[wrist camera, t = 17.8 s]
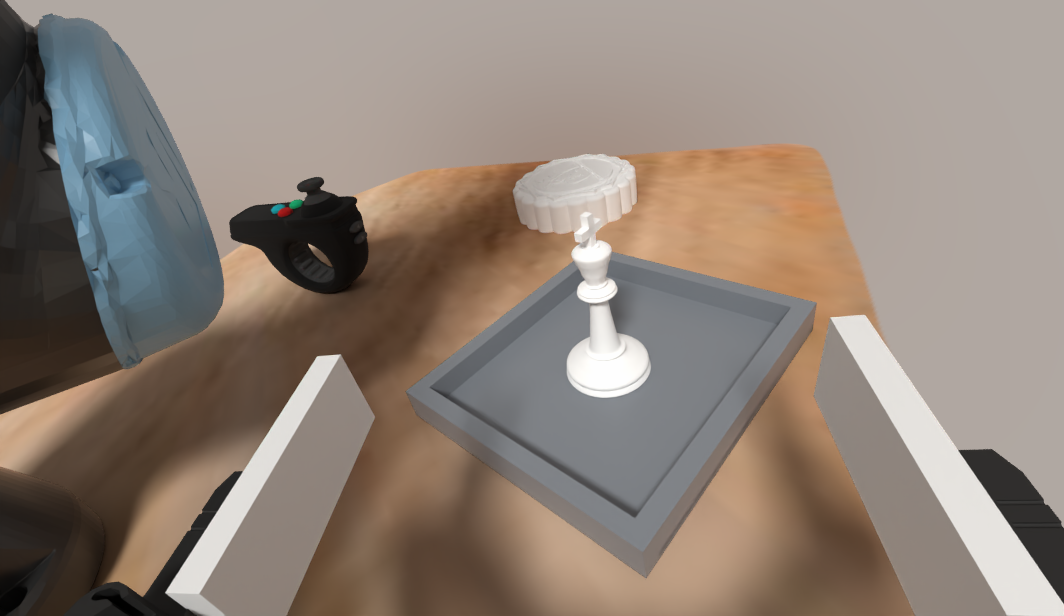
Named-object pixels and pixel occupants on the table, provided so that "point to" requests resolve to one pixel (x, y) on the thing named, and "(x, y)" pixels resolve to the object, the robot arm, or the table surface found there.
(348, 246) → the controller
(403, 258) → the table surface
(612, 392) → the chess piece
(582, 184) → the mooncake
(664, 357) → the tray
